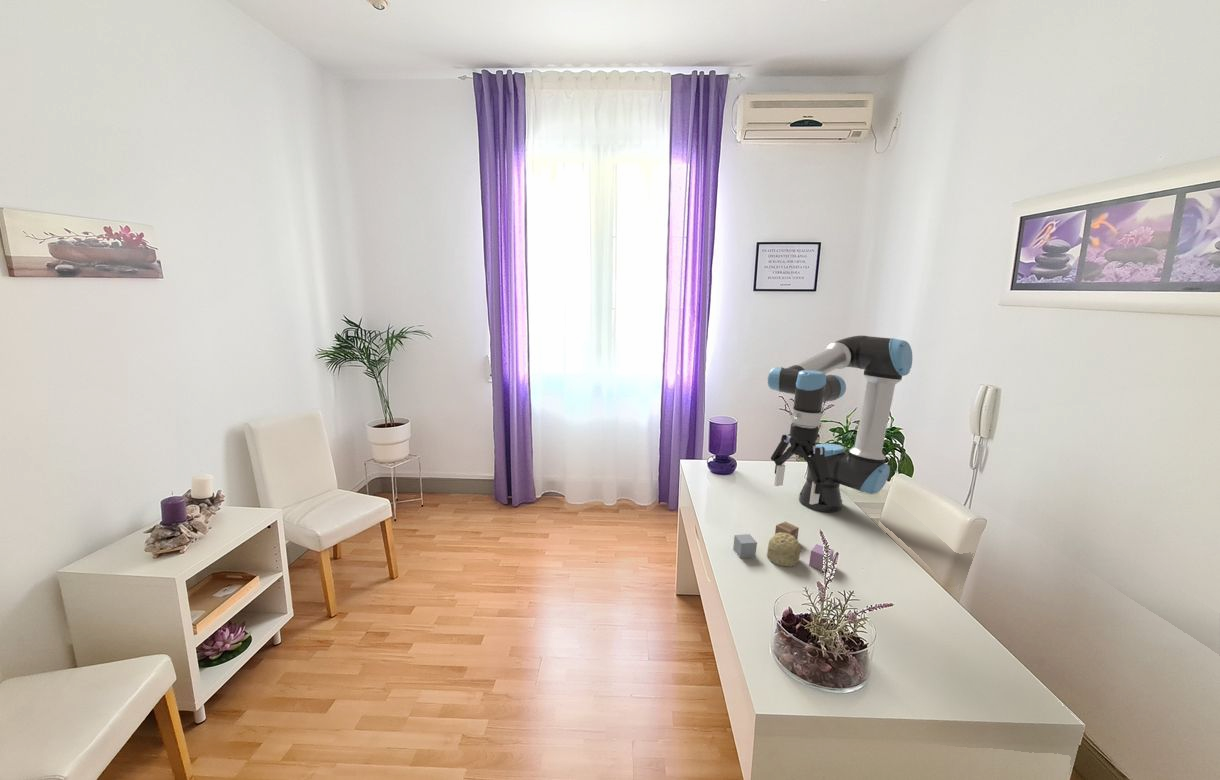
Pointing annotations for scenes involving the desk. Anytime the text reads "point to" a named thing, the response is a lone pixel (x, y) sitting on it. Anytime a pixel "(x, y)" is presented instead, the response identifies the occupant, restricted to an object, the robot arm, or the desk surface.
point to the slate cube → (745, 546)
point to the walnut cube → (787, 529)
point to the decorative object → (783, 549)
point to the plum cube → (818, 556)
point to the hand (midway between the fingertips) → (795, 494)
